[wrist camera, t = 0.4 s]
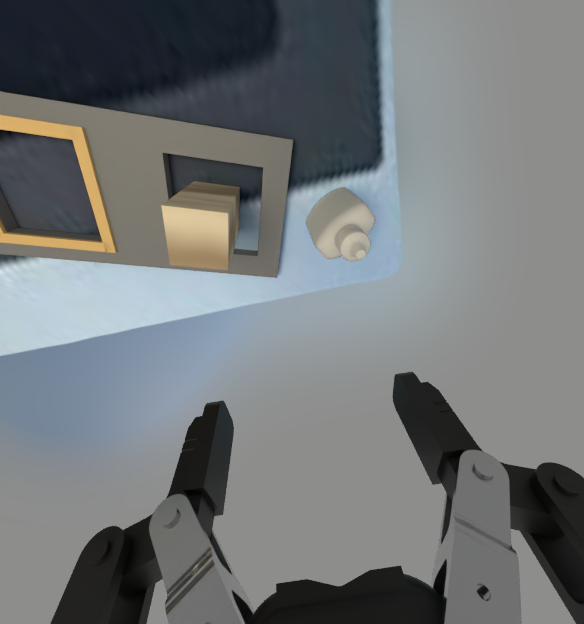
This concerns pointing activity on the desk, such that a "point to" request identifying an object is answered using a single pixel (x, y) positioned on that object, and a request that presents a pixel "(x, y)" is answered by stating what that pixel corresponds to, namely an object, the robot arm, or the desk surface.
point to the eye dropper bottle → (341, 225)
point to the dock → (140, 182)
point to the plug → (202, 225)
